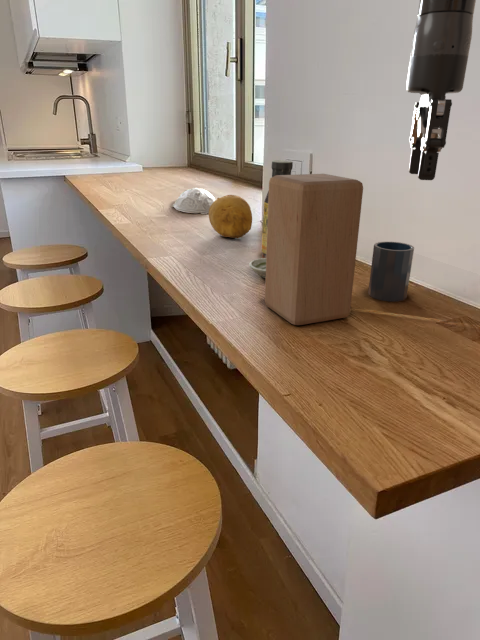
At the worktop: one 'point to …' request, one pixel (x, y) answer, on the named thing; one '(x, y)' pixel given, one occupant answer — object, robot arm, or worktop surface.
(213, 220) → the potato
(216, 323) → the worktop surface
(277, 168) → the sauce bottle
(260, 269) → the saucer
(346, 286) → the block
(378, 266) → the cup
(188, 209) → the white lumpy mound
